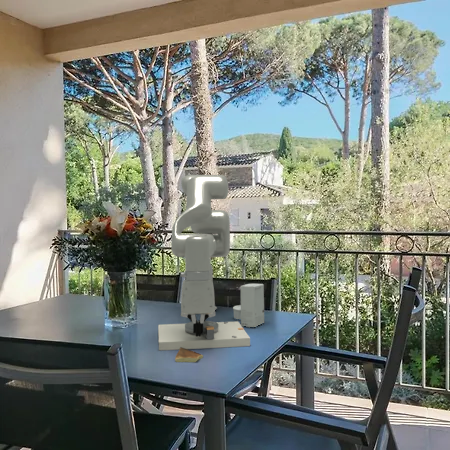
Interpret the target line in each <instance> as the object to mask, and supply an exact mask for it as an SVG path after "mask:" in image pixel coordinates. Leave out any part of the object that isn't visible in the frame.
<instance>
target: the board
mask: <svg viewBox="0 0 450 450" xmlns="http://www.w3.org/2000/svg"><path fill="white" fill-rule="evenodd" d="M215 322H216V323H218V331H217V332H215V333H214V339H210V340H207V339H206V338H205V337H204V336H203V335H201V337H199V336H197V337H196V334H190V333H187V332H185V324H186V323H167V324H158V325H157V326H158V330H157V331H158V351H176V350H178V351H179V350H180V347H182V348H185V349H188V350H197V349H216V348H241V347H250V346H251V337H250V335H249V334H248V333H247V332H246V330H245V329H244V326H241V322H239V320H237V321H219V322H218V321H215Z"/></svg>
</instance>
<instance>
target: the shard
mask: <svg viewBox="0 0 450 450" xmlns="http://www.w3.org/2000/svg"><path fill="white" fill-rule="evenodd" d="M203 357H204V355H203V354H201V353H199V352H196V351H194V350H192V349H185V348H182V347H180V350H178V352H177V353H176V355H175V360H174V362H176V363H196V362H198V361H199V360H201V359H203Z"/></svg>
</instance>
